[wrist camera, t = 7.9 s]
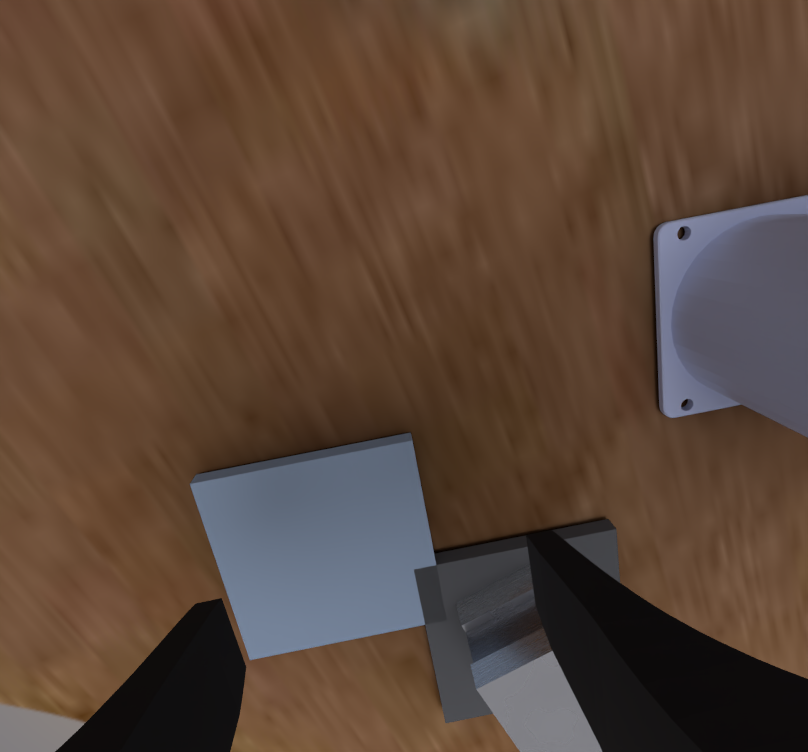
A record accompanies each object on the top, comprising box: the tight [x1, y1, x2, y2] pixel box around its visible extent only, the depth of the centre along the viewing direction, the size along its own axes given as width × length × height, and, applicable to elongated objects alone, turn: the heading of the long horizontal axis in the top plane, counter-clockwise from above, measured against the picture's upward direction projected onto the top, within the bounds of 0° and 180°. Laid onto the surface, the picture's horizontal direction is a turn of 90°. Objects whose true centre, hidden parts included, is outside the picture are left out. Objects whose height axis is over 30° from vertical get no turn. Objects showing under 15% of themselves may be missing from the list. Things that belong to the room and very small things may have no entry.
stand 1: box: [190, 433, 436, 660], centre depth 23 cm, size 9×9×1 cm
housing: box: [456, 564, 602, 752], centre depth 22 cm, size 6×4×4 cm, turn 30°
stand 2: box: [414, 519, 620, 723], centre depth 25 cm, size 9×9×1 cm
